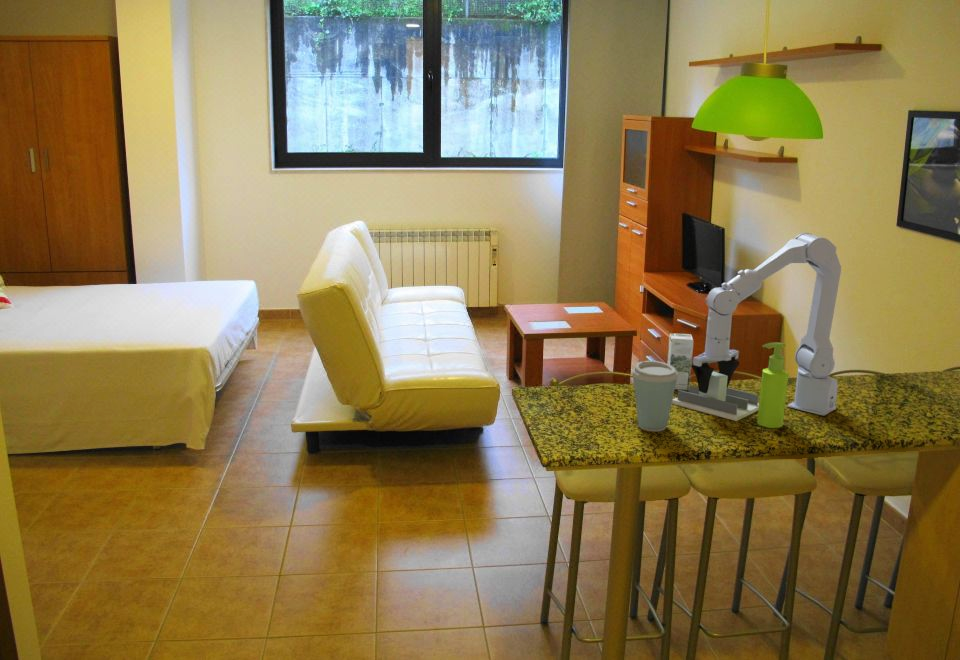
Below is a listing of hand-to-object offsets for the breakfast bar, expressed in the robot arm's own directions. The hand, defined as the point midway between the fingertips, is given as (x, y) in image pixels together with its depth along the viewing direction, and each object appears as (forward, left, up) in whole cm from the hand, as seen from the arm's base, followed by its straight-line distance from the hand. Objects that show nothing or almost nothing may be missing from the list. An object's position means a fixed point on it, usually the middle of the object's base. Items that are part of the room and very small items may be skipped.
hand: (713, 389), depth 224 cm
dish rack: (0, -3, -5) cm, 6 cm away
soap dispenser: (-15, +1, -5) cm, 16 cm away
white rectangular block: (0, 0, -4) cm, 4 cm away
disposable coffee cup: (+3, +23, -5) cm, 24 cm away
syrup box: (+15, -9, -5) cm, 18 cm away
